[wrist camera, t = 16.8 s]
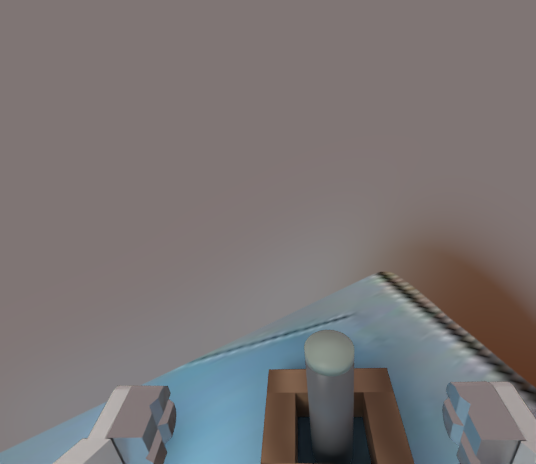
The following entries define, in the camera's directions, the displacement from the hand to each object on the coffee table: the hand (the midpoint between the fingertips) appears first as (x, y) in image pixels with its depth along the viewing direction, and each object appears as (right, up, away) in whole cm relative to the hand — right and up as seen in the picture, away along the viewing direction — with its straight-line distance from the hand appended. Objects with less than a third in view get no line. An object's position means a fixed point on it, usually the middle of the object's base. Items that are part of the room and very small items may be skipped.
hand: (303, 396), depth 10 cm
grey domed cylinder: (+5, -17, +24) cm, 30 cm away
